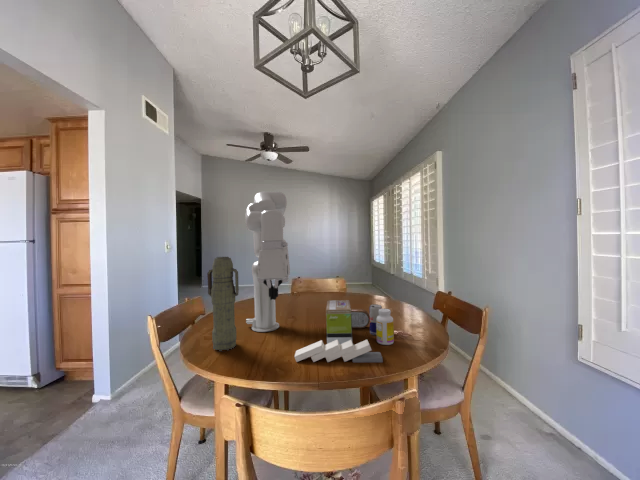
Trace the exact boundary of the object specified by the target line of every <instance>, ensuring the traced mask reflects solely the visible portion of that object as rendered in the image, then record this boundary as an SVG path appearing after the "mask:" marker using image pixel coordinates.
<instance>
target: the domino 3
mask: <svg viewBox="0 0 640 480" xmlns="http://www.w3.org/2000/svg"><path fill="white" fill-rule="evenodd" d="M354 345H355V344H354V343H353V340H352V341H351V340H349V341H347V342H345V343H342V344H340V351H338V352H336V353H333V354H331V355H329V356H327V357H325V359H326V362H327V363H330V362H332V361H335V360H337V359H340V358H342V356H344V355H346V354H348V353H351V352H353V351H355V349H354Z"/></svg>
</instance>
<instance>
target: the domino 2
mask: <svg viewBox="0 0 640 480" xmlns="http://www.w3.org/2000/svg"><path fill="white" fill-rule="evenodd" d="M338 351H340V344H339V342H338V340H335V341H333V342H330V343H328V344H327V343H326V344H324V351H322V352H320V353H318V354H315V355H313V356H310V358H311V360H312V363H315V362H317V361H319V360H322V359H324V358H326V357H327V356H329V355H331V354H333V353H336V352H338Z"/></svg>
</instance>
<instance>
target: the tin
mask: <svg viewBox="0 0 640 480" xmlns="http://www.w3.org/2000/svg"><path fill="white" fill-rule="evenodd" d="M351 314H352V329H364V328H366V327H368V326H369V325H370V313H369V312H368V311H367V310H365V309H364V308H351Z"/></svg>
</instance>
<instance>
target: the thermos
mask: <svg viewBox="0 0 640 480" xmlns="http://www.w3.org/2000/svg"><path fill="white" fill-rule="evenodd" d="M212 262H213V263H212V265H211V266H212V267H211V268H212V269H208V272H207V276H206V277H207V289H208V290H207V295H208V296H209V297H210V298H211V304H212V310H213V311H212V316H213V322H212V323H213V329H212V331H211V333H212V335H211V336H212V338H211V339H212V341H211V342H212V344H213V345H212V349H213V350H214V349H215V350H219V351H218V352H223V351H222V350H227V351H230V350H229V349H231V350H233V349H235V348H236V347H237V327H236V324H235V323H236V322H235V321H236V320H235V318H236V317H235V303H236V297H237V296H239V287H240V286H239V271H238V270H237V268H234V263H233V261H232V258H231V257H229V256H217V257H216V258H214V259H213V261H212ZM234 280H235V283H234ZM235 346H236V347H235ZM234 347H235V348H234ZM232 348H233V349H232ZM215 350H214V351H215Z"/></svg>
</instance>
